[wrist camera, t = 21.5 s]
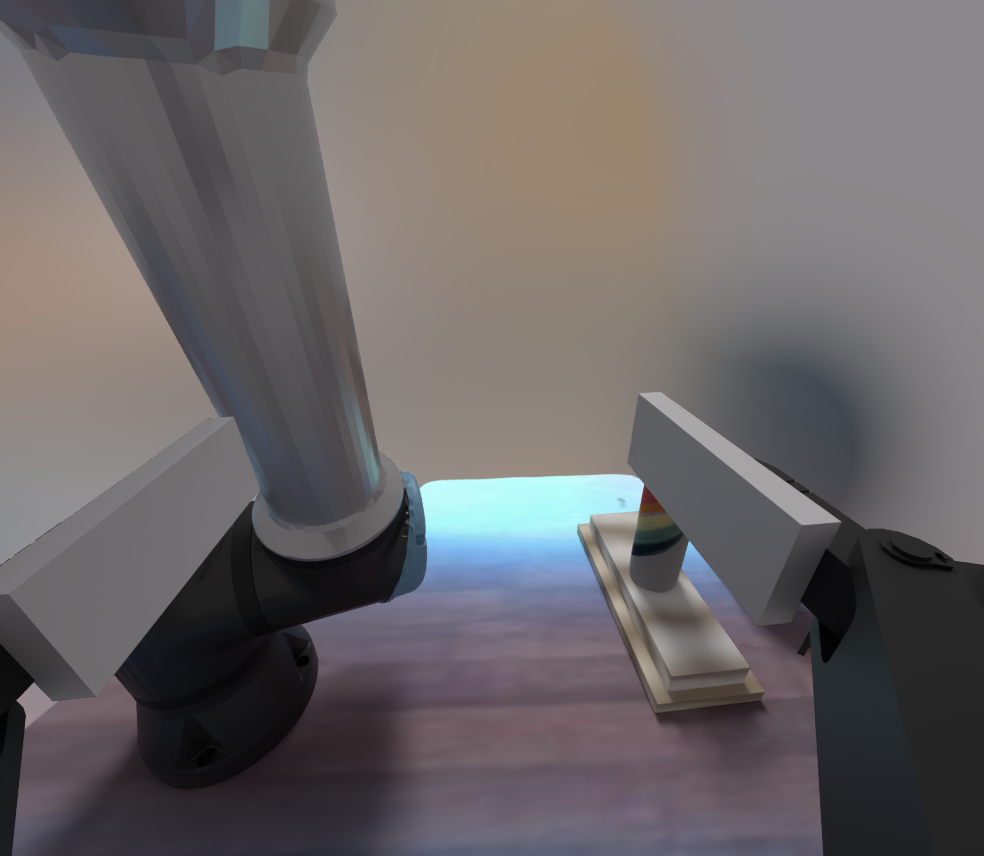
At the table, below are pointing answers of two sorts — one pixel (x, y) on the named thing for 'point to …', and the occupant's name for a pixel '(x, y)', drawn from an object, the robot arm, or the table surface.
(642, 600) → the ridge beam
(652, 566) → the lotion bottle
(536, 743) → the table surface
